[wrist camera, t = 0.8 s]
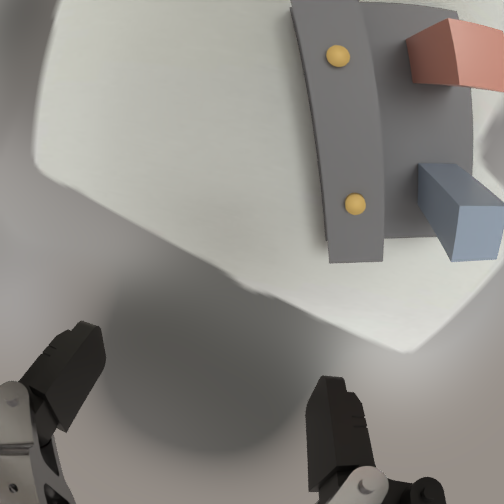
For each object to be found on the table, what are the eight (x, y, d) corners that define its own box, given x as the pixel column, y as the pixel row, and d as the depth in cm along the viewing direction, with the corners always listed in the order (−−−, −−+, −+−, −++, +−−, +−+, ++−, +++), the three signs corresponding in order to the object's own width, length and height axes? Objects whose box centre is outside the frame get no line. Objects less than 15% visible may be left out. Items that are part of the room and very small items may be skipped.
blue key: (418, 163, 27) (459, 205, 17) (456, 163, 26) (507, 206, 16) (417, 204, 30) (451, 261, 20) (453, 204, 28) (496, 259, 18)
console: (290, 9, 22) (281, -9, 17) (453, 12, 17) (478, 1, 11) (326, 236, 36) (324, 267, 31) (462, 232, 31) (481, 260, 25)
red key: (405, 39, 20) (447, 17, 10) (446, 43, 19) (502, 30, 9) (412, 83, 23) (459, 84, 13) (453, 86, 21) (512, 93, 11)
